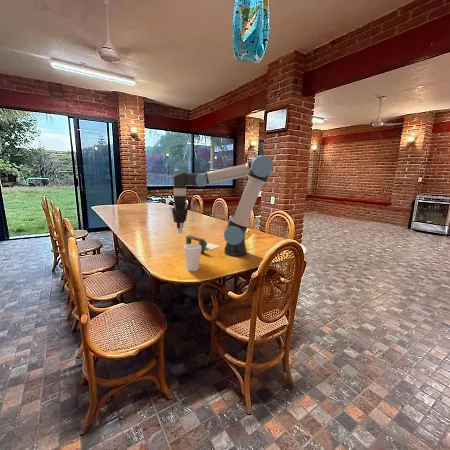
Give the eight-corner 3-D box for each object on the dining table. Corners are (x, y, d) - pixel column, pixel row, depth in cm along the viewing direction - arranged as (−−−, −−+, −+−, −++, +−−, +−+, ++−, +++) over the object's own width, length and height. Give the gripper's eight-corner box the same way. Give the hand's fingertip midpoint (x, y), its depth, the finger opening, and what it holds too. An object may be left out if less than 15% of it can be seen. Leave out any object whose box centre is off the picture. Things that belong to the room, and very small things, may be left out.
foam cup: (180, 270, 131) (180, 247, 128) (188, 264, 139) (189, 242, 137) (196, 273, 128) (196, 249, 125) (204, 267, 136) (204, 245, 133)
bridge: (189, 247, 171) (189, 235, 169) (204, 252, 162) (204, 239, 160) (186, 248, 169) (186, 235, 167) (200, 253, 160) (201, 240, 158)
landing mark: (220, 246, 177) (220, 246, 177) (209, 250, 168) (209, 249, 168) (208, 243, 184) (208, 243, 184) (197, 246, 175) (197, 246, 175)
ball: (202, 247, 167) (207, 249, 172) (205, 239, 169) (209, 242, 173) (196, 246, 171) (201, 248, 175) (199, 238, 172) (203, 241, 176)
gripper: (184, 194, 155) (184, 230, 160) (167, 195, 146) (167, 233, 150) (192, 195, 151) (191, 232, 155) (175, 196, 141) (175, 235, 146)
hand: (180, 233), depth 153 cm, fingers closed
